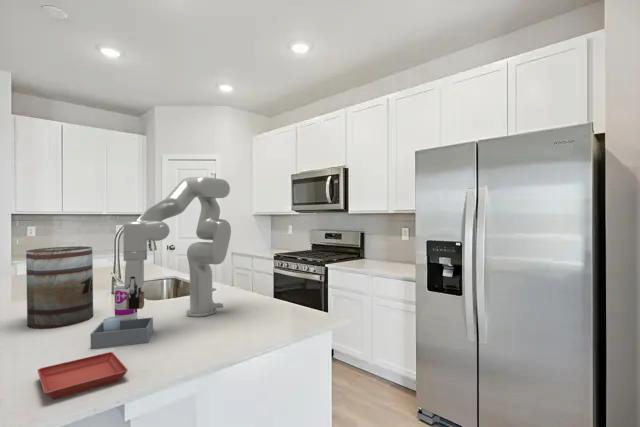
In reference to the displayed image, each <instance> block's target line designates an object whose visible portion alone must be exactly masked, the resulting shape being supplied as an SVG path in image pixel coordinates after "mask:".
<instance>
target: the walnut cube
mask: <svg viewBox="0 0 640 427" xmlns="http://www.w3.org/2000/svg"><path fill="white" fill-rule="evenodd" d="M138 297H139V308H138V309H137V310H142V309H143V308H144V307H145V291H142V292H138ZM126 310H132V309H129V293H128V294H127V296H126Z"/></svg>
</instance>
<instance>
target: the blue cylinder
mask: <svg viewBox="0 0 640 427" xmlns="http://www.w3.org/2000/svg"><path fill="white" fill-rule="evenodd" d="M102 322H103V329H104V332H109V331H119V330H120V318H119V317H115V316H110V317H106V318H104V319H103V320H102Z"/></svg>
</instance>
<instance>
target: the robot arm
mask: <svg viewBox="0 0 640 427" xmlns="http://www.w3.org/2000/svg"><path fill="white" fill-rule="evenodd" d="M230 192H231V186H230V184H229V182H228V181H227V180H226V179H224V178H217V177H216V178H215V177H207V176H195V177H193V176H192V177H185V178H183V179H182V180H181V181H180V182H179V183H178V184H177V185H176V186H175V187H174V189H173V190H171V192H170V193H169V194H168V195H167V197H165V198H164V199H162V200H161V201H159V202H157V203H155V204H154V205H153V206H150V207H149V208H147V209H146V210H145V211H144V212H143V213H141V214H140V216H139V217H138V218H137V219H136V220H135V221H127V222H125V223H124V224H123V229H122V230H123V232H122V233H123V236H122V237H123V261H124V262H125V265H124V266H125V268H124V269H125V270H124V283H125V285H124V288H125V289H126V290H127V289H128V288H129V309H137V310H139V309H138V308H139V297H138V292H143V291H142V290H143V289H142V286H143V285H144V279H145V261H147V260H148V241H153V242H154V241H155V242H157V241H163V240H165V239H166V238H168V236H169V235H170V234H169V233H170V227H169V225H168V224H167V223H166V222H164V220H167V219H170V218H173V217H176V216H178V215H180V214H183V213H184V211H186V209H187V208H188V207H189V205H190V204H191V203H192V202H193V200H194V199H195V198H198V201H199V203H200V207H201V209H200V213H199V214H200V215H199V218H198V221H197V222H198V223H197V225H196V230H195V232H196V236H197V238H198V239H200V240H204V241H197V242H193V243H191V244H190V245H189V246H188V248H187V250H186V257H187V260H188V266H189V309H188V310H186V312H185V313H186V316H188V317H193V318H194V317H195V318H198V317H199V318H200V317H206V316H212V315H214V314H215V313H216V312H217V309H219V308H220V309H221V308H222V309H223V308H224V303H223V302H221V303H220V302H217V303H215V302H214V300H213V271H212V268H211V265H221V264H222V263H224V261H225V260H226V256H227V254H228V249H229V245H230V244H229V243H230V240H231V235H232V226H231V224H230V222H229V221H228V220H226V219H223V218H220V214H221V208H220V204H219V203H218V201H217V199H225V198H226V197H228V195H229V194H230ZM205 240H206V241H207V242H206V241H205ZM208 241H211V242H208Z"/></svg>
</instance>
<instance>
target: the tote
mask: <svg viewBox="0 0 640 427" xmlns="http://www.w3.org/2000/svg"><path fill="white" fill-rule="evenodd" d="M153 331H154V317H143V318H136V319H130V320H120V330H119V331H109V332H104V329H103V321H101V322H100V323H99V324H98V325H97V326H96V327H95V328H94V330H93V331H92V332H90V350H93V349H101V348H111V347H118V346H119V347H121V346H129V345H131V346H132V345H139V344H147V343H149V341H150V339H151V336H152V334H153Z"/></svg>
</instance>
